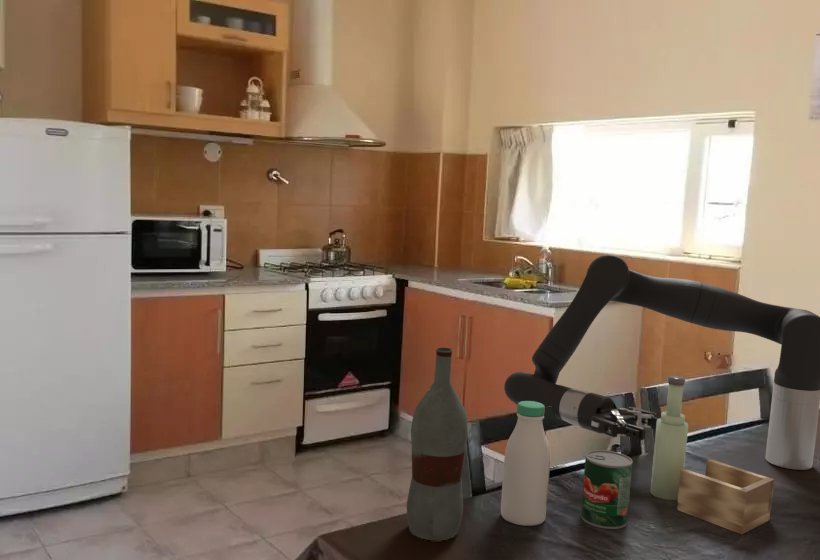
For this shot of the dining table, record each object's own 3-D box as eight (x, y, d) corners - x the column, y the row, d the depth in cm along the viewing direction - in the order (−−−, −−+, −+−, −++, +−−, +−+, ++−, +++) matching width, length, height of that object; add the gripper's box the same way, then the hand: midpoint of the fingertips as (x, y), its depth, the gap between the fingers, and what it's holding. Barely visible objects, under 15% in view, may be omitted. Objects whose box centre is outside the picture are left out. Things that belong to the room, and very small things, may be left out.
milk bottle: (544, 530, 130) (554, 412, 127) (498, 523, 131) (506, 407, 129) (546, 511, 137) (555, 400, 135) (502, 505, 139) (509, 395, 136)
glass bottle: (647, 487, 151) (657, 373, 148) (676, 489, 151) (687, 375, 148) (654, 498, 146) (665, 380, 143) (684, 501, 145) (696, 382, 142)
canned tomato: (628, 514, 138) (634, 454, 136) (625, 532, 130) (631, 469, 129) (583, 506, 140) (588, 447, 139) (577, 523, 133) (582, 461, 131)
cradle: (676, 510, 141) (680, 470, 140) (706, 497, 148) (710, 459, 147) (741, 534, 132) (746, 492, 131) (769, 520, 139) (774, 479, 138)
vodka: (417, 514, 133) (427, 340, 130) (468, 525, 130) (480, 347, 126) (396, 535, 125) (406, 350, 121) (451, 548, 121) (463, 358, 118)
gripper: (566, 397, 156) (637, 417, 144) (609, 387, 165) (678, 406, 153) (564, 433, 157) (634, 457, 145) (606, 422, 166) (675, 443, 154)
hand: (657, 431), depth 149 cm, fingers open, 8 cm apart
